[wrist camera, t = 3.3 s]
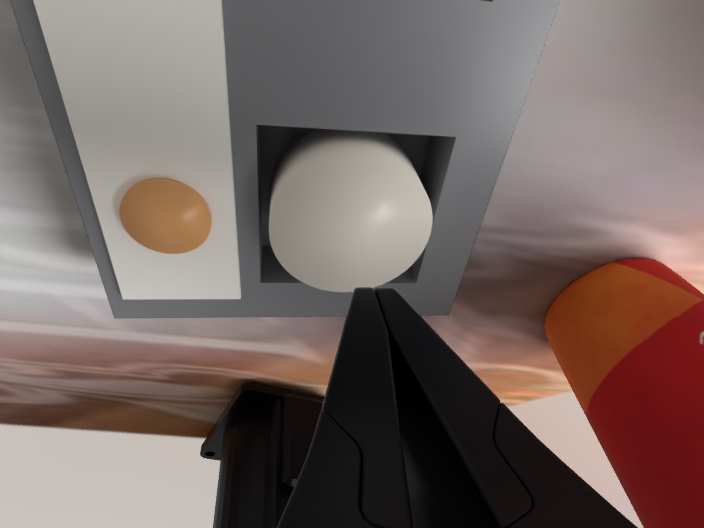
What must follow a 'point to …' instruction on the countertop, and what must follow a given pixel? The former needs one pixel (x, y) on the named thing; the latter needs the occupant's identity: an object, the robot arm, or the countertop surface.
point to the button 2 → (347, 210)
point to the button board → (269, 131)
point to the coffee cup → (639, 380)
